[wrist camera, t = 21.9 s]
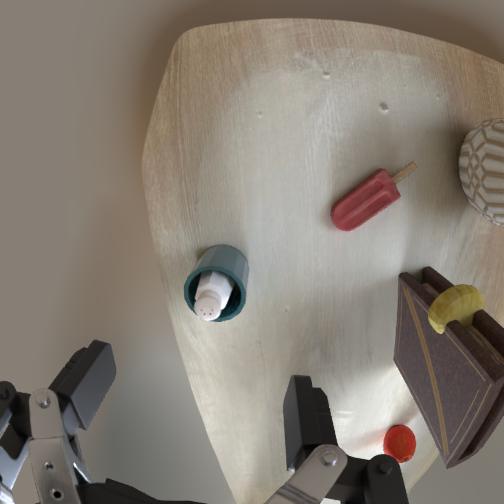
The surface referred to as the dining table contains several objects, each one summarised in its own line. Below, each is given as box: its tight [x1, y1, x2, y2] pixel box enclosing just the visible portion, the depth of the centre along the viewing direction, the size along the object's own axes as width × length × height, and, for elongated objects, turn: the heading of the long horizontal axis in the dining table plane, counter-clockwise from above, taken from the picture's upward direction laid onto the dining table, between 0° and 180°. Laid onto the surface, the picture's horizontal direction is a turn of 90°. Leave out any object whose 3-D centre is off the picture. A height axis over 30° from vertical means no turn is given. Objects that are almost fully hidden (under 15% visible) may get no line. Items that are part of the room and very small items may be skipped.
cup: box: [184, 245, 249, 322], centre depth 36 cm, size 7×7×8 cm
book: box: [394, 266, 504, 469], centre depth 29 cm, size 22×8×25 cm, turn 12°
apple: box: [383, 425, 416, 463], centre depth 47 cm, size 8×8×11 cm
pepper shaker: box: [194, 270, 236, 320], centre depth 33 cm, size 5×5×11 cm
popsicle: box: [331, 162, 417, 231], centre depth 34 cm, size 4×2×15 cm
